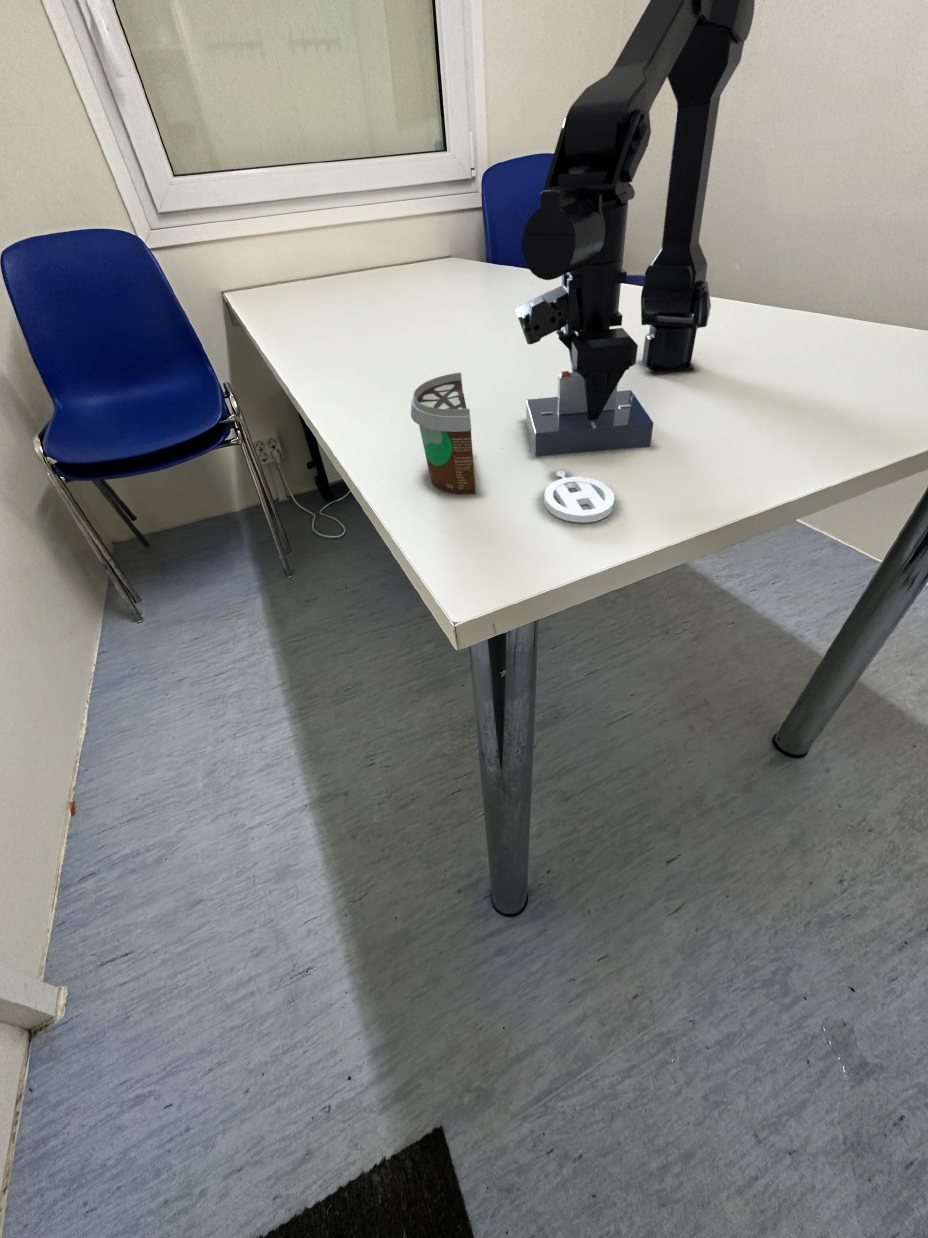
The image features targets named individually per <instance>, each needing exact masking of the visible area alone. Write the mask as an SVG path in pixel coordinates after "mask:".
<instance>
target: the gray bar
mask: <svg viewBox="0 0 928 1238" xmlns="http://www.w3.org/2000/svg"><path fill="white" fill-rule="evenodd" d="M557 376H558V377H557V397H558V405H557V410H558V413H559V415H562V414H573V413H584V412H587V405H586V396H585V386H584V378H583V377H582V376H581V375H580V374H578V373H577V372H572V371H571V372H569V370H565V371H560V372H559V373H558V374H557ZM618 385H619V383H618V384H617V386H616V387H615V389H614V391H613V392H612V394H611V396H610V398H609V399H608V401H607V403H606V405H605V407H604V408H603V410H602V411H606V410H615V406H616V396H617V391H618Z"/></svg>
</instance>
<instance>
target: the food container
mask: <svg viewBox="0 0 928 1238" xmlns="http://www.w3.org/2000/svg"><path fill="white" fill-rule="evenodd" d="M412 396H413V397H412V399H411V402H410V403H411V404H410V405H411V407H410V417H411V419H412V421H413V422H414V424H417V425H418V427H419V432H420V436H421V440H422V441H421V442H422V445H423V451H424V454H425V459H426V464H427V468H428V473H429V477H430V483H431V484H432V486H434V488H435V489H437V490H439V491H441V492H444V493H448V494H454V495H476V494H477V493H476V477H475V467H474V465H475V464H474V454H473V453H474V451H473V437H472V422H471V412H470V408H467V404H466V399H465V393H464V390H463V379H462V372H461V371H459V372H454V373H449V374H444V375H441V376H437V377H434V378H432V379H429V380H426V381H425V382H423V383H422V384H420V385H419V386H417V388H415V390H414V391H413V395H412Z"/></svg>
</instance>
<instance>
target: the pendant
mask: <svg viewBox="0 0 928 1238" xmlns="http://www.w3.org/2000/svg"><path fill="white" fill-rule="evenodd" d="M566 474H567V472H566V471H565V470H557V471H556V473H555V475H556V477H558V479H556V480H554V481H553V482H550V484H548V485H547V487H546V488H545V490H544V495H543V496H544V498H543V500H544V505H545V508H546V509H547V511H548V512H549V513H550V514H551V515H553V516H555V517H556V518H559V519H561V520H564V521H567V522H572V523H583V524H584V523H593V522H597V521H600V520H602V519H604V518H607V517H608V516H609V515H610V514H612V512H613V510H614V507H615V494H614V491H613V490H612V489H611V488H610V487H609V485H607V484H606V483H603V482H601V481H600V480H596V479H593V478H590V477H585V476H570V477H566ZM559 478H560V479H559ZM572 489H576V491H575V492H570V491H569V490H572ZM555 498H556V499H557V500H558V502H559V503H558V502H557V501H556V499H555ZM581 505H588V506H589V508H590V509H583V507H582V506H581Z"/></svg>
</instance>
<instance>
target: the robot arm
mask: <svg viewBox="0 0 928 1238" xmlns="http://www.w3.org/2000/svg"><path fill="white" fill-rule="evenodd" d="M755 1H756V0H649V2H648V4H647V6H646V8H645V9H644V11H643V13H642V15H641V16H640V18H639V20H638V22H637V24H636V25H635V27H634V29H633V31H632V32H631V34H630V36H629V38H628V39H627V41H626V43H625V45H624V46H623V48H622V50H621V52H620V54H619V55H618V57H617V59H616V61H615V62H614V64H613V66H612V68H611V69H610V70H609V71H608V73H607V74H606V75H604V76H603V77H601V78H600V79H598V80H597V81H595V82H594V83H592V84H590V85H589V86H587V87H586V88H584V90H583V91H582V92H581V93H580V95H579V96H578V97H577V98H576V99H575V101H574V102H573V103H572V104H571V106H570V107H569V109H568V111H567V114H566V115H565V117H564V121H563V124H562V126H561V129H560V132H559V135H558V139H557V142H556V146H555V149H554V153H553V156H552V159H551V163H550V166H549V169H548V173H547V177H546V179H545V182H544V186H543V190H542V191H541V192H540V196H539V197H540V198H539V202H540V203H539V208H538V209H537V210H536V211H535V212H534V213H532V215H531V216H530V217H529V219H528V220H527V222H526V225H525V227H524V230H523V234H522V236H521V253H522V257H523V260H524V263H525V264H526V267H527V268H528V270H529V271H530V272H531V274H533V275H534V276H535V277H537V278H538V279H541V280H544V281H552V280H555V279H558V278H561V285H560V286H558V287H556V288H554V289H550V290H547V291H546V292H544V293H543V294H540V295H538V296H537V297H534V298H532V299H531V300H529V301H526V302H524V303H523V304H521V305H519V306H518V307H517V308H516V309H515V313H516V316H517V319H518V322H519V324H520V327H521V331H522V333H523V335H524V338H525V342H526V344H527V345H534V344H536V343H538V342H541V339H542V338H545V337H547V336H548V335H550V334H553V333H555V335H556V336H557V338H558V340H559V341H560V342H561V343H562V344H563V345H564V346H565V347H566V348H567V349H568V354H569V359H570V366H571V372H577V373H578V374H580V375H581V376H582V377H583V378H584V386H585V396H586V405H587V414H588V419H589V420H596V419H598V417H599V416H600V414H601V412H602V410H603V408H604V407H605V405H606V403H607V401H608V399H609V398H610V396H611V394H612V392H613V391H614V389H615V387H616V386H617V384H618V385H619V382H620V381H621V379H622V377H623V376H624V374H625V373H626V371H629V370H630V368H631V367H633V366H635V365H636V364H637V356H638V348H639V344H637V343H636V341H635V340H634V339H633V338H632V337H631V336H630V335H629V333H628V332H627V331H626V330H625V329H624V328H623V327H621V326H622V325H623V314H622V313H621V312H620V311H619V308H620V299H621V298H620V297H621V287H622V286H621V285H622V284H626V283H627V276H628V272H627V271H626V270H625V269H624V268H623V265H624V253H625V245H626V243H625V242H626V232H627V224H628V223H627V221H628V212H629V201H631V200H633V199H634V198H635V195H636V191H635V189H634V186H633V185H632V184H631V183H632V182H633V181H634V178H635V176H636V173H637V170H638V167H639V166H640V164H641V161H642V160H643V158H644V155H645V153H646V151H647V149H648V146H649V142H650V140H651V135H652V128H651V116H650V111H651V109H652V106H653V104H654V102H655V101H656V99H657V97H658V95H659V93H660V91H661V89H662V87H663V85H664V84H665V82H666V80H668V81H667V82H668V84H669V86H670V89H671V91H672V93H673V94H672V95H673V96H674V99H675V101H676V112H675V122H674V131H673V140H672V148H671V149H672V150H671V159H670V166H669V177H668V185H667V194H666V195H667V196H666V204H665V213H664V215H665V216H664V223H663V229H662V231H663V232H662V241H661V249H660V250H659V251H658V253H657V255H656V256H655V258H654V259H653V260H652V263H651V264H650V265H648V267H647V268H646V270H645V272H644V283H643V286H642V288H641V294H640V317H641V318H640V320H641V321H640V322H641V323H640V325H641V326H649V331H648V332H649V333H646V334H645V336H644V343H643V351H642V352H643V353H642V358H641V362H642V364H643V365H644V366H645V368H646V369H647V370H648V371H649V372H650V374H652V375H657V374H669V373H678V372H691V371H694V370H695V366H694V365H693V364H692V359H693V353H694V348H695V342H696V338H697V337H696V336H697V333H698V332H697V331H698V329H700V328H706V327H707V326H708V322H709V318H710V315H711V312H710V311H711V307H712V304H711V303H712V302H711V297H710V290H709V284H708V281H707V272H708V261H707V259H706V256H705V253H704V252H703V250H702V246H701V245H700V241H699V240H700V235H701V228H702V221H703V215H704V207H705V201H706V195H707V189H708V182H709V181H708V180H709V174H710V168H711V160H712V155H713V154H712V153H713V148H714V140H715V135H716V128H717V120H718V115H719V114H718V113H719V108H720V102H721V96H722V94H723V92H724V90H725V89H726V87H727V86H728V83H730V80H731V78H732V76H733V75H734V73H735V71H736V70H737V68H738V66H739V64H740V63H741V59H742V55H743V51H744V46H745V42H746V41H747V39H748V37H749V34H750V32H751V29H752V25H753V20H754V14H755V7H756V4H755ZM619 326H620V327H619ZM610 327H611V328H610ZM612 327H617V328H612ZM617 387H618V386H617Z"/></svg>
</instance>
